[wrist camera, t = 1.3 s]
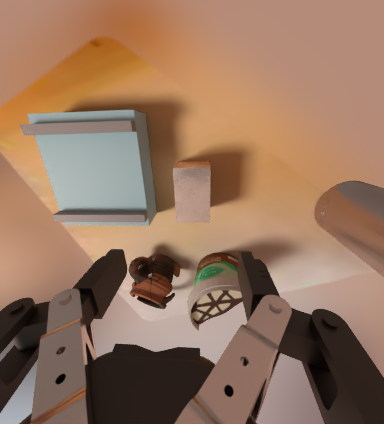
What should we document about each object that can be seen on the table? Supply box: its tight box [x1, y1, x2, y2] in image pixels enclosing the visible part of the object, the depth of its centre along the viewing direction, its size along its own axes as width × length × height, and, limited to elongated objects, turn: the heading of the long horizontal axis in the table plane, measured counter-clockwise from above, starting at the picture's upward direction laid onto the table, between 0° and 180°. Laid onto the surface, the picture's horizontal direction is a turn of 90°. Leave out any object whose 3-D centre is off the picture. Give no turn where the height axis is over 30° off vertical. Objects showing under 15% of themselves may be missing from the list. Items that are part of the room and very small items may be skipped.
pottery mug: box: [129, 255, 180, 309], centre depth 36 cm, size 12×9×8 cm
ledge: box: [21, 110, 157, 226], centre depth 28 cm, size 14×16×6 cm
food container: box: [188, 253, 243, 330], centre depth 32 cm, size 12×6×10 cm, turn 131°
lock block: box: [173, 161, 211, 223], centre depth 28 cm, size 5×8×6 cm, turn 2°
